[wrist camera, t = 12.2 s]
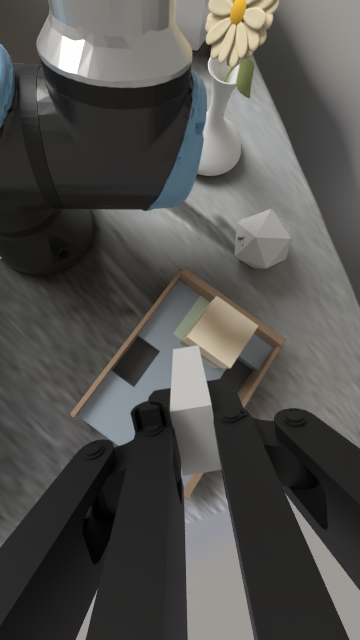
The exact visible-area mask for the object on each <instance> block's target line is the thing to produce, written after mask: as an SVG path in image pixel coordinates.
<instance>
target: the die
mask: <svg viewBox="0 0 360 640" xmlns="http://www.w3.org/2000/svg"><path fill="white" fill-rule="evenodd" d="M291 239H292V238H291V230H290V224H289V223H288V222H287V221H285V220H284V219H283V218H282V217H281V216H280V215H279V214H278V213H276V212H275V211H274V210H273V209H269V210H266V211H264V212H261V213H258V214H256V215H253V216H250V217H248V218H245V219H242V220H240V221H237V225H236V240H235V255H234V257H235V258H237V259H239V260H240V261H242V262H244V263H246V264H247V265H249V266H251V267H253V268H264V269H267V268H269V267H271V266H273V265H275V264H277V263H279V262H281V261H283V260H285V259H286V258H287V254H288V251H289V247H290V243H291Z"/></svg>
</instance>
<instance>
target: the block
mask: <svg viewBox="0 0 360 640" xmlns="http://www.w3.org/2000/svg"><path fill="white" fill-rule="evenodd" d="M257 327H258V325H257V324H255V323H254V322H252V321H251V320H250V319H248V318H247V317H246V316H244V315H243V314H241V313H240V312H239V311H237V310H236V309H234V308H233V307H232V306H230V305H229V304H228V303H226V302H225V301H223V300H222V299H221V298H219V297H218V296H216V297H215V298H214V299H213V300H212V301H211V302H210V303H209V304H208V306H207V307H206V308H205V309H204V310H203V311H202V313H201V314H200V315H199V317H198V318H197V320H196V321H195V322H194V324H193V325H192V327H191V328H190V329H189V331H188V332H187V334H186V335H185V336H184V338H183V339H182V341H181V342H180V344H182V345H183V346H184V347H191V346H196V345H199V349H200V354H201V359H202V360H204V361H205V362H206V363H208V364H209V365H211V366H212V367H213V368H231V367H232V365H233V364H234V362H235V361H236V359H237V358H238V356H239V355H240V353H241V352H242V350H243V349H244V347H245V346H246V344H247V343H248V341H249V339H250V338H251V336H252V335H253V333H254V332H255V330H256V329H257Z"/></svg>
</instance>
